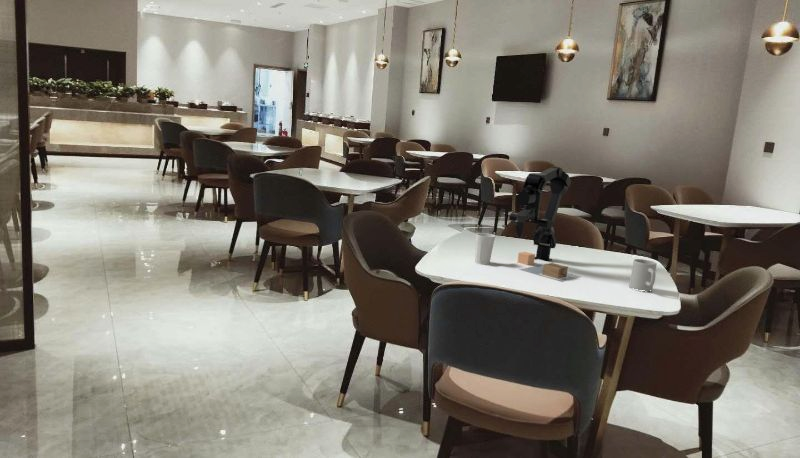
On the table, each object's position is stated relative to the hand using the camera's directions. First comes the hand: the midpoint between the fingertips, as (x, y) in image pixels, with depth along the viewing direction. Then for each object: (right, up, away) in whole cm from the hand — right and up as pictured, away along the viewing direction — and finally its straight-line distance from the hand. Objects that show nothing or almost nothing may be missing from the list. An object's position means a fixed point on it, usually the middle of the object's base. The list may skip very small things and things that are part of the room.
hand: (528, 240), depth 258 cm
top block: (-1, -11, +2) cm, 11 cm away
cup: (-20, -10, -2) cm, 22 cm away
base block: (+7, -14, -15) cm, 22 cm away
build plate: (+6, -14, -12) cm, 19 cm away
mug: (+39, -19, -23) cm, 49 cm away
